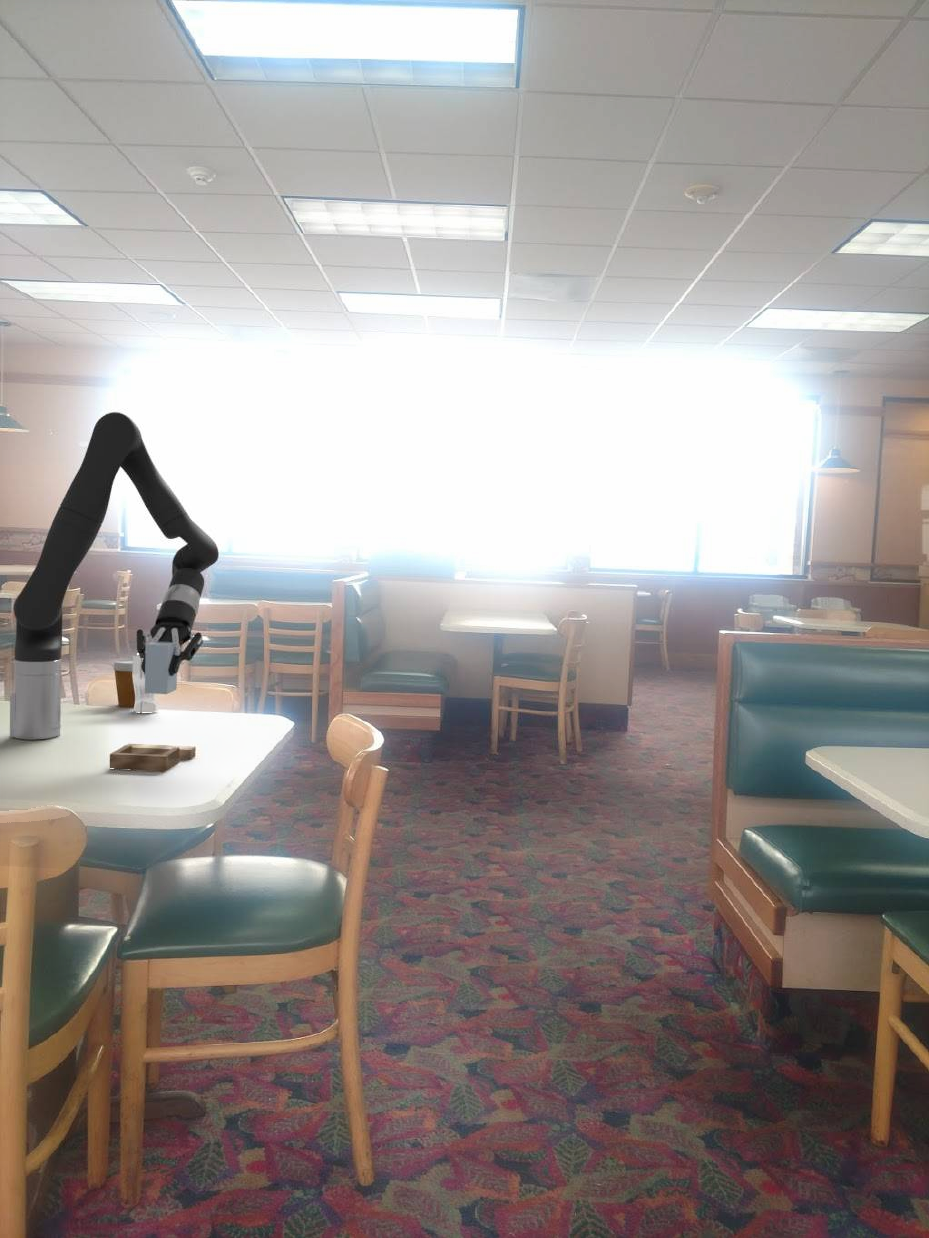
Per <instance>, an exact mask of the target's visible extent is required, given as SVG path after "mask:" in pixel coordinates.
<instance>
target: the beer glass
mask: <svg viewBox="0 0 929 1238" xmlns="http://www.w3.org/2000/svg"><path fill="white" fill-rule="evenodd" d="M132 659H133V664H132V679H133V686H134V692H135V704H134V707H133V709H132V712H133V713H134V712H140V713H142V712H155V711H159V707H158V702H157V701H158V700H157V697H158V694H153V693H145V674H144V672H143V671H142V668H141V665H142V662H143V659H144V658H140V656H139V654H138V653H136V654H133V656H132Z"/></svg>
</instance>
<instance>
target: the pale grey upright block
mask: <svg viewBox="0 0 929 1238" xmlns="http://www.w3.org/2000/svg"><path fill="white" fill-rule="evenodd" d="M145 645H146V661H145V693H153V694H157V695H159V694H160V695H168V694H170V693H172V692H174V691H177V690H178V689H177V688H178V687H177V684H178V683H177V681H178V672H177V673H176V674H174V676H170V674H169V672H168V669H169V666H170V663H171V660H172V656H174V650H175V643H173V642H152V643H150V642H149V643H148V642H147V643H145Z"/></svg>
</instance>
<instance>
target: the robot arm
mask: <svg viewBox="0 0 929 1238" xmlns="http://www.w3.org/2000/svg"><path fill="white" fill-rule="evenodd" d="M120 469H122V470H123V471H124V472H125V474H126V475H127V476H128V478H129V479H130V481H131V482H132V484H133V485H134V487H135V489H136V491H137V492H138V494H139V496H140V498H141V500H142V502H143V504H144V506H145V507H146V509H147V511H148V513H149V514H150V516H151V518H152V519H153V520H154V523H156V526H158V528H159V530H160V532H161V533H162V534H163V536H164V537H165V538H166V539H169V540H175V539H178V538H181V540H182V541H183V542H185V543H186V544H185V545H184V546H182V547H181V548H179V549H178V550H177V551H176V553H175V554H174V556H173V559H172V562H171V564H172V565H171V568H172V569H171V580H170V583H169V585H168V589H167V591H166V592H165V594H164V596H163V599H162V602H161V605H160V607H159V611H158V613H157V616H156V619H155V621H154V622H155V623H154V625H153V627H152V628H151V629H150V630H146V631H143V630H142V629H141V628H139V629H137V630H136V651H137V654H139V656H140V658H144V659H143V662H142V665H141V668H142V671H143V672H144V674H145V661H146V643H148V642H149V639H150V638H151V637H152V640H151V641H150V642H149V643H152V642H173V643H175V650H174V656H172V660H171V663H170V666H169V669H168V672H169V674H170V676H174V674H176V673H177V674H178V672H179V669H180V665H181V663H182V662H183V661H189V662H190V661H191V660H192V659H193V658H194V656H195V654H197V652H198V651H199V649H200V647H201V646H202V644H203V643H204V640H203V636H202V632H196V633H193V632H192V630H193V627H194V623H195V620H196V616H197V614H198V612H199V607H200V600H201V597H202V594H203V590H204V586H205V577H204V576H203V574H202V572H204V571H205V570H206V569H208V568H210V567H211V566H213V565H214V564H215V563H217V561H218V559H219V548H218V546H217V544H216V542H215V541H214V539H212V538H211V536H209V535H208V533H207V532H206V531H204V530H203V529H202V528H201V527H200V525H198V524H197V523H196V522H194V521H193V520H192V519H191V517H190V516H189V514H188V513H187V510H186V509H185V508H184V506H183V505H182V503H181V501H180V500H179V499H178V497H177V496H176V494H175V493H174V492H173V490H172V489H171V487H170V486H169V484H168V483H167V482H166V480H165V479H164V477H162V475H161V473H160V472H159V470H158V469H157V467H156V464H154V462H153V460H152V458H151V456H150V454H149V452H148V450H147V447H146V445H145V442H144V440H143V437H142V433H141V431H140V429H139V426H137V424H136V423H135V422H134V421H133V419H132V418H131V417H129V416H128V415H127V414H125V413H122V412H119V411H112V412H109V413H106V414H104V415H102V416H101V417H100V418H99V419H98V420H97V421H96V422H95V425H94V427H93V430H92V433H91V436H90V439H89V442H88V446H87V448H86V451H85V455H84V458H83V459H82V463H81V465H80V467H79V469H78V471H77V473H76V474H75V476H74V478H73V479H72V482H71V483H70V486H68V489H67V491H66V493H65V495H64V497H63V499H62V501H61V502H60V503H61V504H60V505H59V507H58V510H57V511H56V513H55V516H54V517H53V518H54V519H53V520H52V522H51V525H50V527H49V530H48V533H47V535H46V539H45V540H44V541H45V542H44V544H43V547H42V550H41V554H40V555H39V559H38V562H37V564H36V566H35V568H34V570H33V571H32V574H31V575H30V577H28V578H29V579H27V582H26V584H25V585H24V586H23V588H22V590H21V591H20V593H18V596H17V597H16V599H15V601H14V602H13V614H14V617H15V620H16V621H15V622H16V623H15V624H16V625H15V628H16V629H15V631H16V632H15V634H16V635H15V641H14V642H15V644H14V659H13V660H14V664H13V665H14V666H13V667H14V668H13V669H14V675H13V676H14V677H13V678H14V687H13V688H14V689H13V691H14V692H12V693H11V694H10V696H9V737H10V738H14V739H18V740H29V741H30V740H33V741H34V740H45V739H53V738H56V737H59V736H60V735H61V715H62V712H61V710H62V709H61V703H62V701H61V700H62V699H61V698H62V697H61V695H62V694H61V693H62V692H61V691H62V647H63V615H64V614H63V612H64V611H63V603H64V600H65V596H66V594H67V590H68V588H69V585H70V583H71V580H72V578H73V576H74V574H75V572H76V571H77V569H78V568H79V566H80V565H81V563H82V562H83V560H84V559H85V557H86V556H87V554H88V553H89V550H90V549H91V547H92V545H93V544H94V541H95V540H96V538H97V536H98V533H99V532H100V530H101V527H102V525H103V522H104V521H105V518H106V514H107V511H108V509H109V503H110V500H111V493H112V488H113V485H114V482H115V479H116V476H117V474H118V472H119V470H120ZM189 640H190V641H189ZM188 641H189V643H188V644H187V646H186V647H185V648H184V650H183V647H182V646H183V645H184V644H186V643H187V642H188Z"/></svg>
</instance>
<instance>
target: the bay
mask: <svg viewBox="0 0 929 1238" xmlns="http://www.w3.org/2000/svg"><path fill="white" fill-rule="evenodd" d="M178 762H179V763H180V759H179V748H177V747H173V748H172V749H170V750H169V751H167V752H166V753H164V754H163V755H154V754H132V745H127V744H125V745H124V746H122V747H120V748H118V749H116V750H114V751H113V752H111V753H110V754H109V769H110V768H114V769H113V770H115V769H130V770H129V771H137V770H145V771H144V772H159V771H166V772H168V771H169V770H171V769H172V768H173V767H174V766H176V765H177V764H178Z"/></svg>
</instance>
